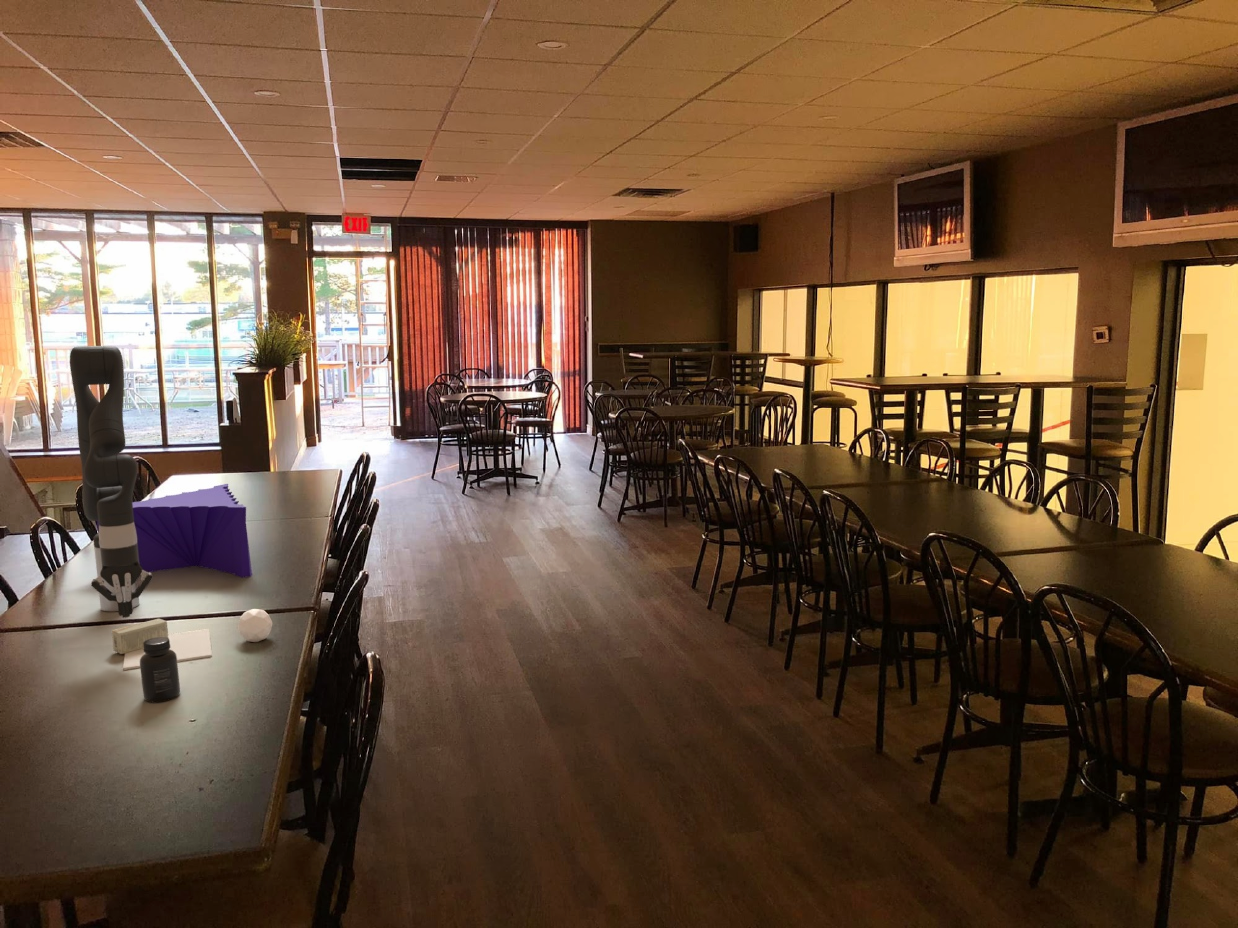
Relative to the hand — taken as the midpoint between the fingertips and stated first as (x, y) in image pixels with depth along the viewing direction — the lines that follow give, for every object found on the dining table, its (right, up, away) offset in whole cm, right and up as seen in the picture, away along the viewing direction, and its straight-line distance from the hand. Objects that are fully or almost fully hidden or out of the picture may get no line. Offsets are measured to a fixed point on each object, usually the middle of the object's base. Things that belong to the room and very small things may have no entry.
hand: (126, 616), depth 214 cm
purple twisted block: (-19, +4, +84) cm, 86 cm away
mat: (+7, -8, +5) cm, 12 cm away
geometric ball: (+26, -8, +10) cm, 29 cm away
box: (-3, -6, +1) cm, 7 cm away
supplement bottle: (+19, -13, -22) cm, 32 cm away
